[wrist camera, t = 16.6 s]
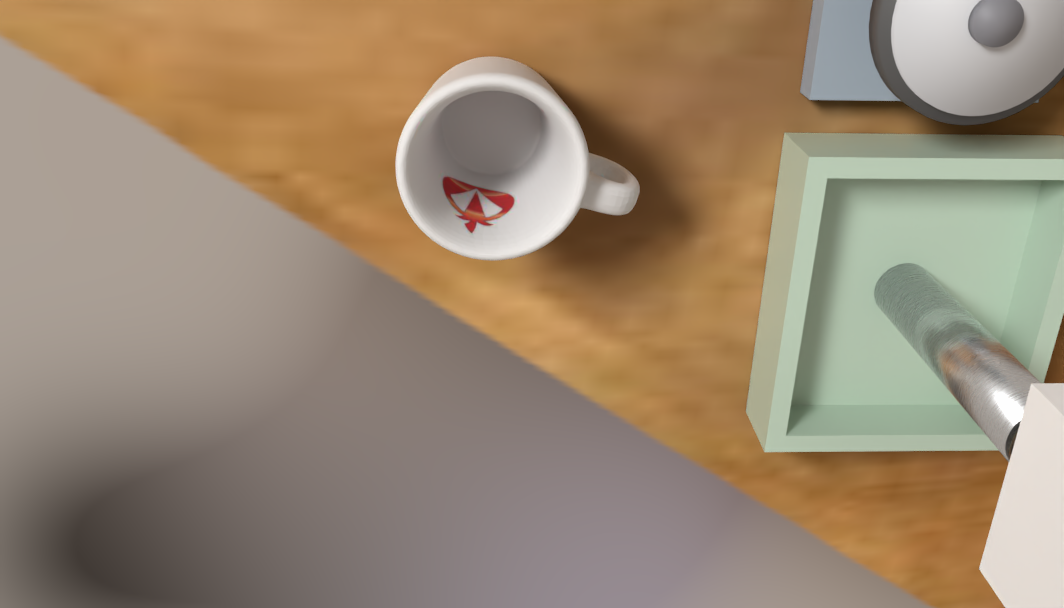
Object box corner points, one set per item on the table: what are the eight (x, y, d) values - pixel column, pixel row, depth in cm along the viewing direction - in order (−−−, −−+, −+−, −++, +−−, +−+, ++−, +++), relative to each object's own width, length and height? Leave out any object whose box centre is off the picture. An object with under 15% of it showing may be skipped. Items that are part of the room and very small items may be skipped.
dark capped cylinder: (879, 263, 50) (1024, 419, 37) (936, 263, 50) (1101, 418, 37) (869, 315, 51) (1005, 484, 38) (925, 315, 51) (1080, 483, 38)
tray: (784, 132, 48) (808, 157, 44) (1061, 135, 49) (1107, 159, 45) (745, 411, 55) (764, 452, 51) (989, 410, 55) (1024, 450, 52)
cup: (653, 86, 47) (684, 133, 39) (594, 234, 50) (613, 302, 43) (435, 12, 45) (426, 47, 37) (389, 172, 48) (372, 232, 41)
